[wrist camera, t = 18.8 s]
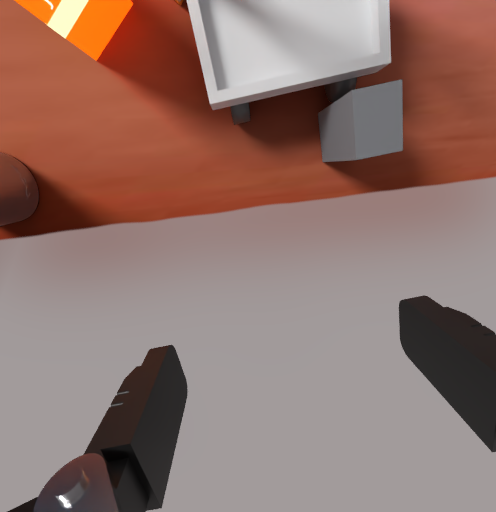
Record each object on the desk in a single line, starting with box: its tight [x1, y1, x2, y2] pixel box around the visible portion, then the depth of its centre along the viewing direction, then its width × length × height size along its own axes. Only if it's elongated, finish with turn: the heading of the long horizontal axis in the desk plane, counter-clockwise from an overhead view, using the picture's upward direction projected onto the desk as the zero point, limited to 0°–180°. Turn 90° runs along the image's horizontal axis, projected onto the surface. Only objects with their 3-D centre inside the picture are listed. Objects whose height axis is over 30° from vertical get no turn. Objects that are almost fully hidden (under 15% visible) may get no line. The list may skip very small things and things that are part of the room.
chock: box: [318, 79, 403, 162], centre depth 30 cm, size 4×6×11 cm
